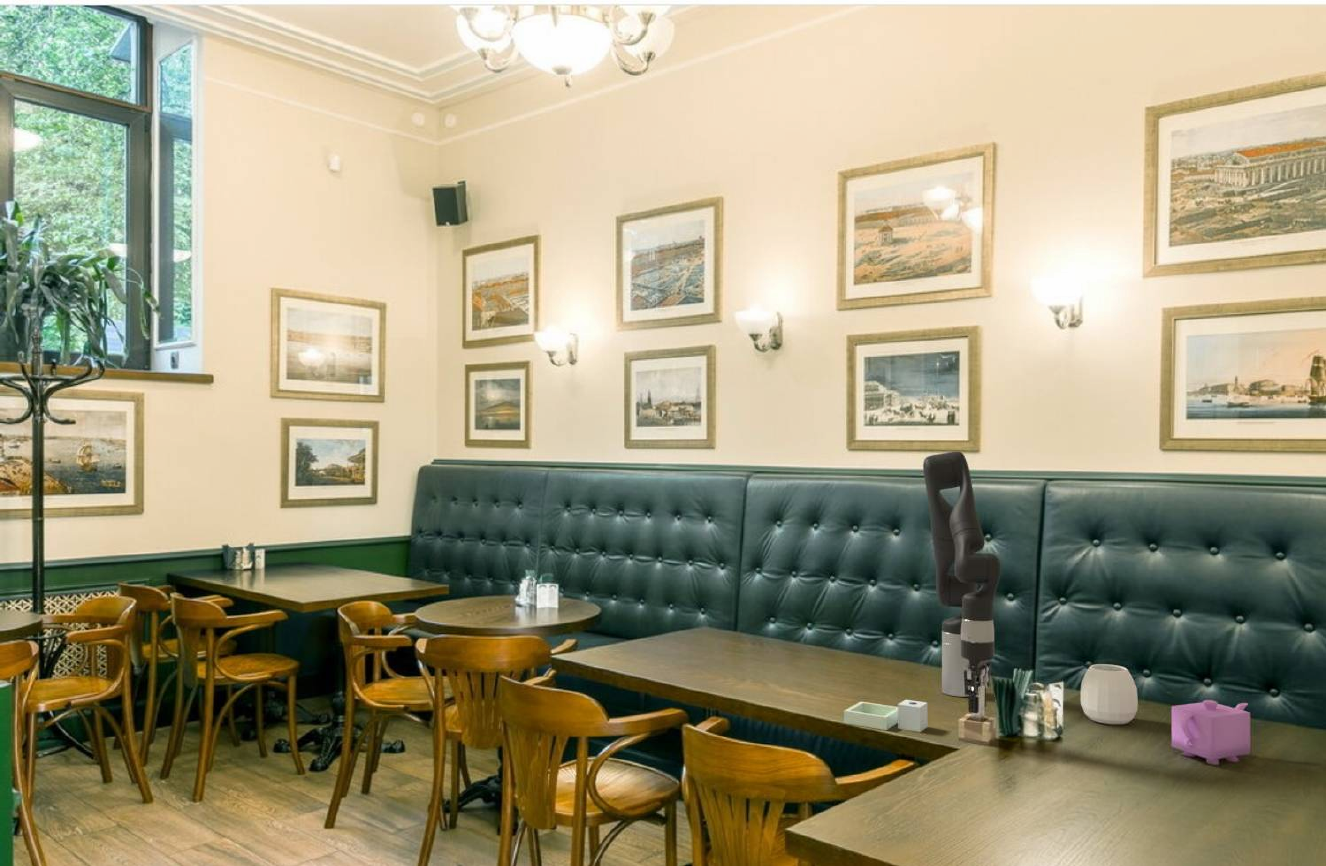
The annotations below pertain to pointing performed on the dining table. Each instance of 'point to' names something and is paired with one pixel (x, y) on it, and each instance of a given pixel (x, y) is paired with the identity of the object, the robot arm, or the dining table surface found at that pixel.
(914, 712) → the white cube
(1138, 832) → the dining table surface
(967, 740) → the oak block
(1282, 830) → the dining table surface
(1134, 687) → the white vase
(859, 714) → the tray
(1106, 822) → the dining table surface
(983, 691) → the cylinder
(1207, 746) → the teapot
